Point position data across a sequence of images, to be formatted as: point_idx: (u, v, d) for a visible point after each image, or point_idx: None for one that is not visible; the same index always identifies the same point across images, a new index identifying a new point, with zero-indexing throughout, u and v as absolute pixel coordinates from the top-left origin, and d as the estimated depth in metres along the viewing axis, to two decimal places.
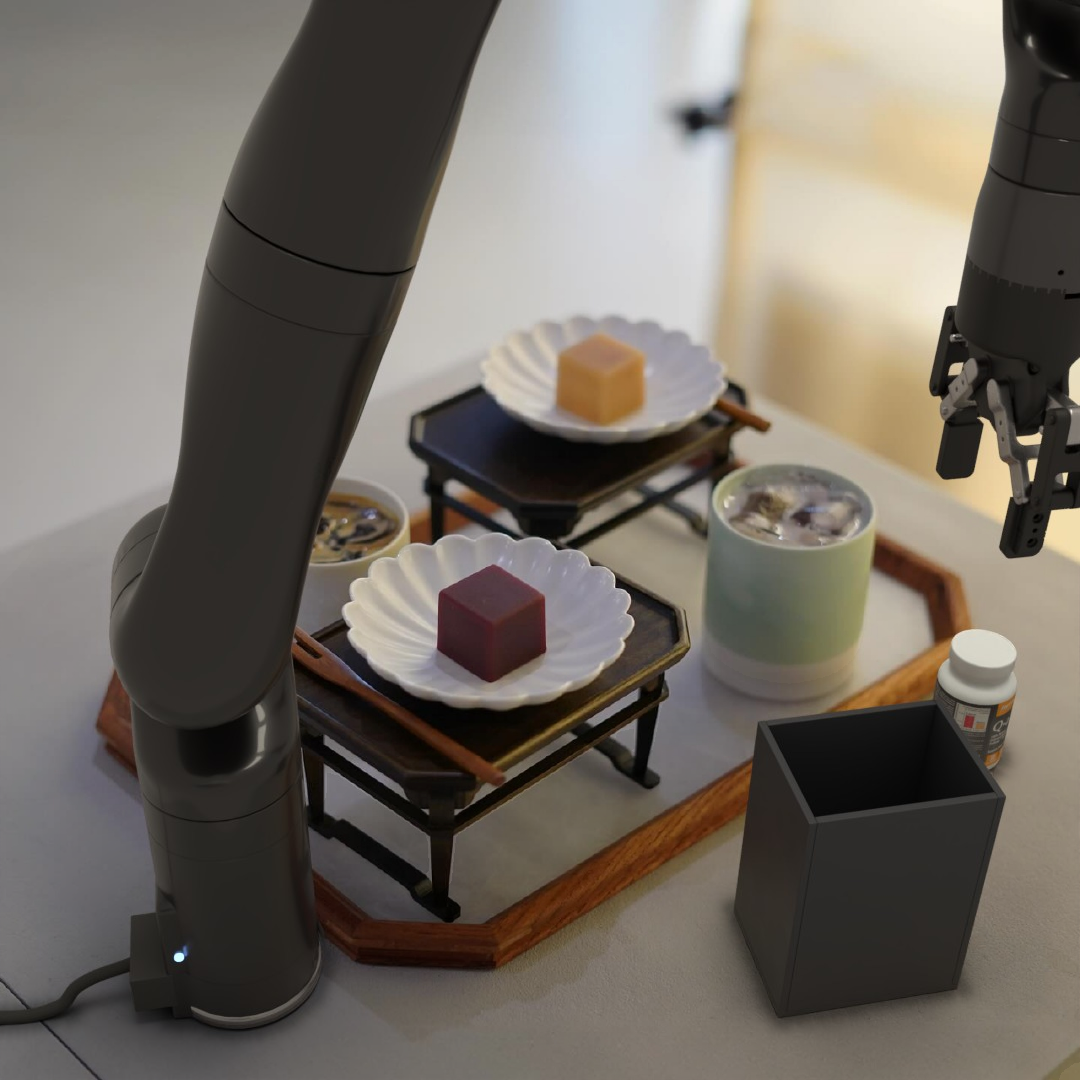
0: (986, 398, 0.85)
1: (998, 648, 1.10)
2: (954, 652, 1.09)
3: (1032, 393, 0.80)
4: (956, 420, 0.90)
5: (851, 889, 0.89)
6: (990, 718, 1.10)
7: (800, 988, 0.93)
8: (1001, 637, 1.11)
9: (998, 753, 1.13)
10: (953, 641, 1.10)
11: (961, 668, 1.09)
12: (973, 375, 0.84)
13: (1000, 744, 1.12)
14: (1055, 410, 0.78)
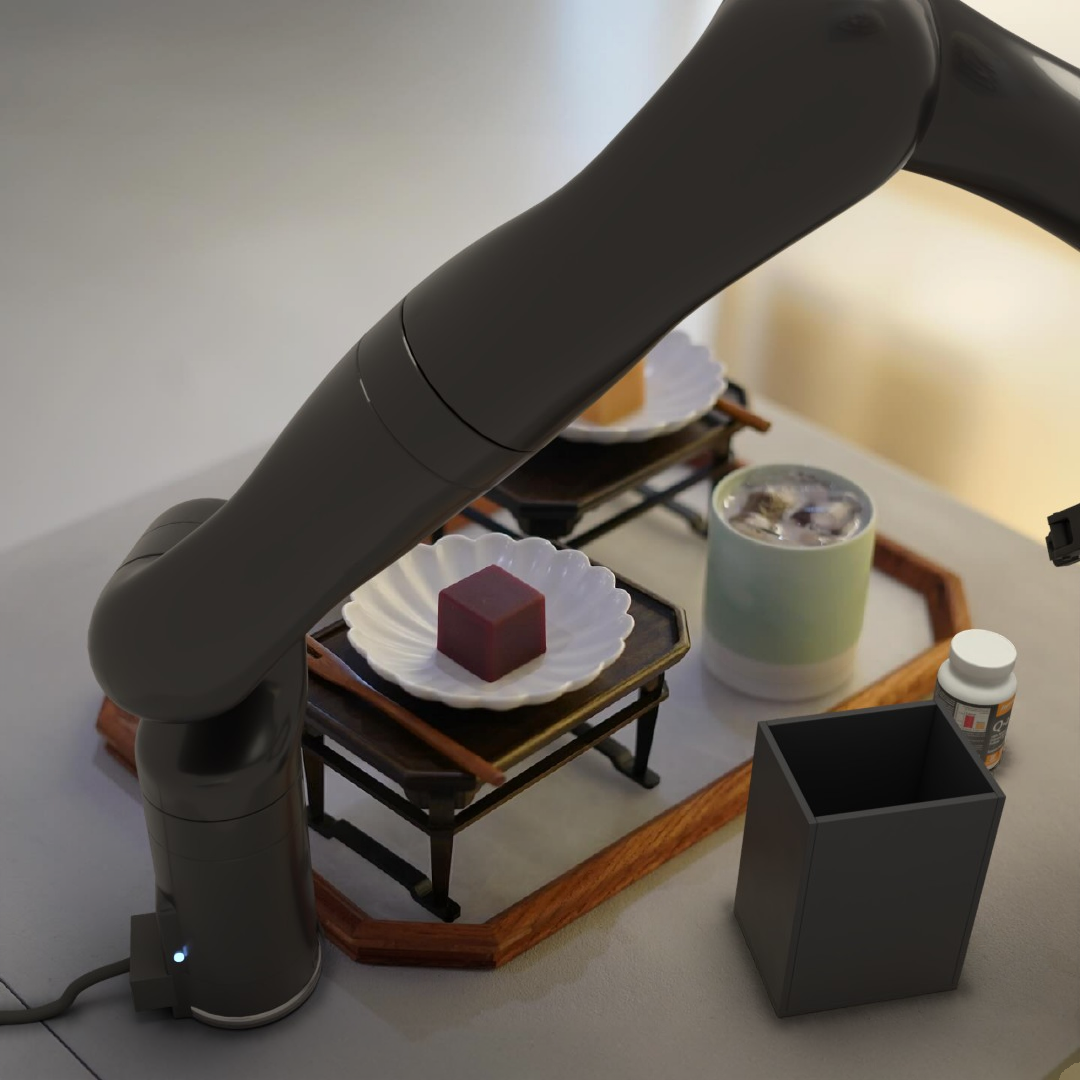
0: None
1: (998, 648, 1.10)
2: (954, 652, 1.09)
3: None
4: None
5: (851, 889, 0.89)
6: (990, 718, 1.10)
7: (800, 988, 0.93)
8: (1001, 637, 1.11)
9: (998, 753, 1.13)
10: (953, 641, 1.10)
11: (961, 668, 1.09)
12: None
13: (1000, 744, 1.12)
14: None
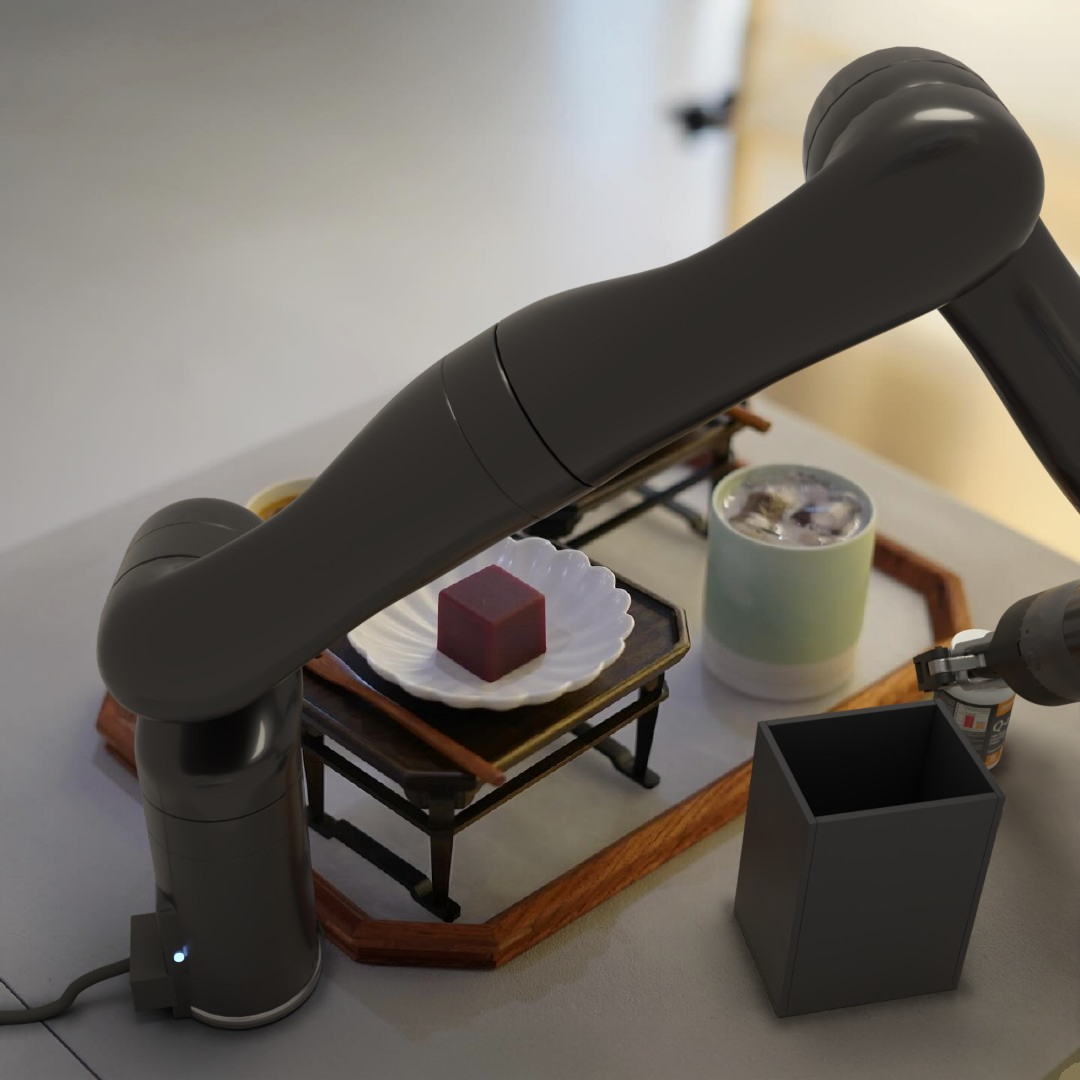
0: None
1: None
2: None
3: (976, 645, 1.03)
4: None
5: (851, 889, 0.89)
6: (990, 718, 1.10)
7: (800, 988, 0.93)
8: None
9: (998, 753, 1.13)
10: (953, 641, 1.10)
11: None
12: None
13: (1000, 744, 1.12)
14: (940, 648, 1.02)
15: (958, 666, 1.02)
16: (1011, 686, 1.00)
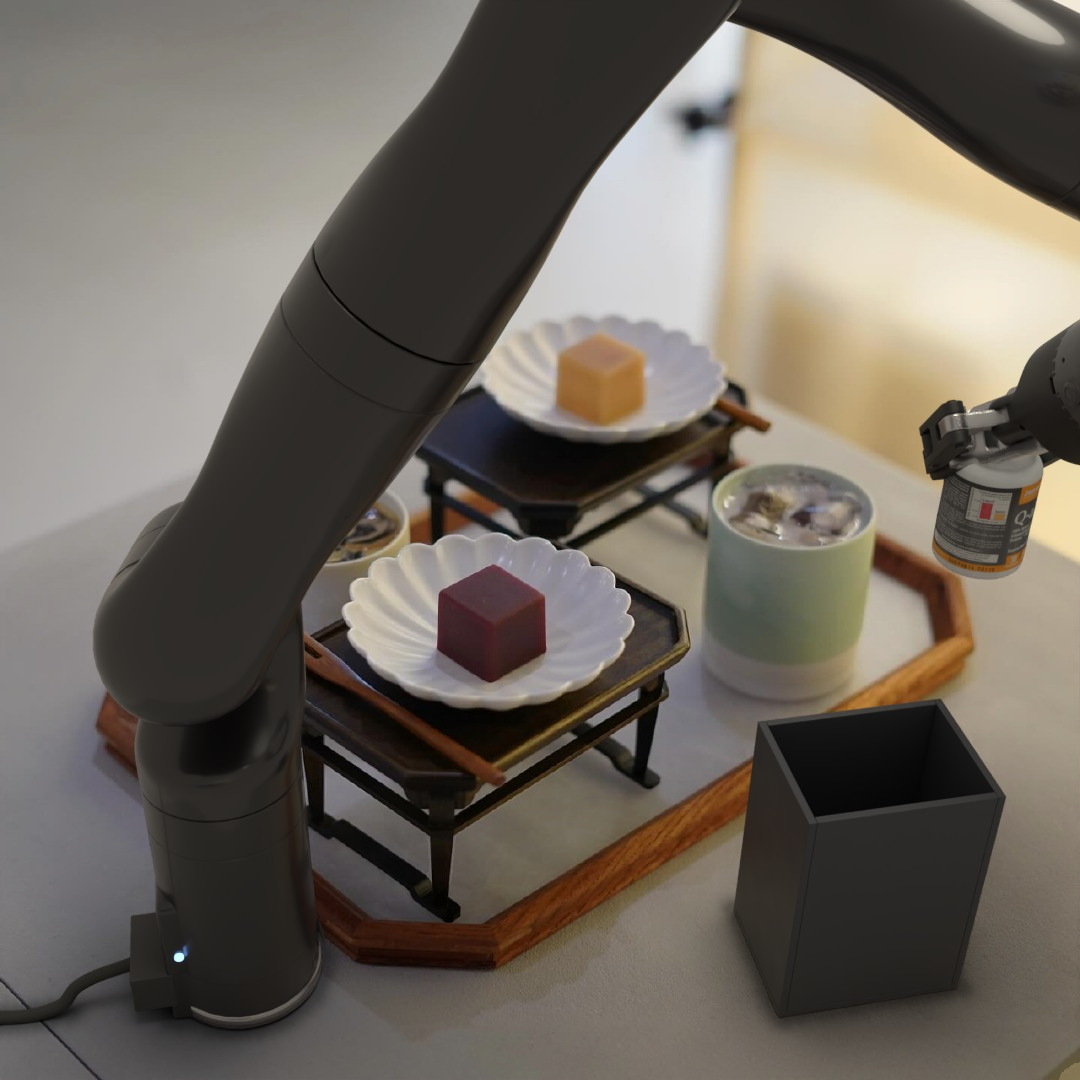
0: None
1: None
2: None
3: (997, 399, 0.84)
4: None
5: (851, 889, 0.89)
6: (1011, 507, 0.91)
7: (800, 988, 0.93)
8: None
9: (1020, 555, 0.94)
10: None
11: None
12: None
13: (1022, 543, 0.94)
14: (953, 402, 0.84)
15: (975, 423, 0.84)
16: (1041, 440, 0.81)
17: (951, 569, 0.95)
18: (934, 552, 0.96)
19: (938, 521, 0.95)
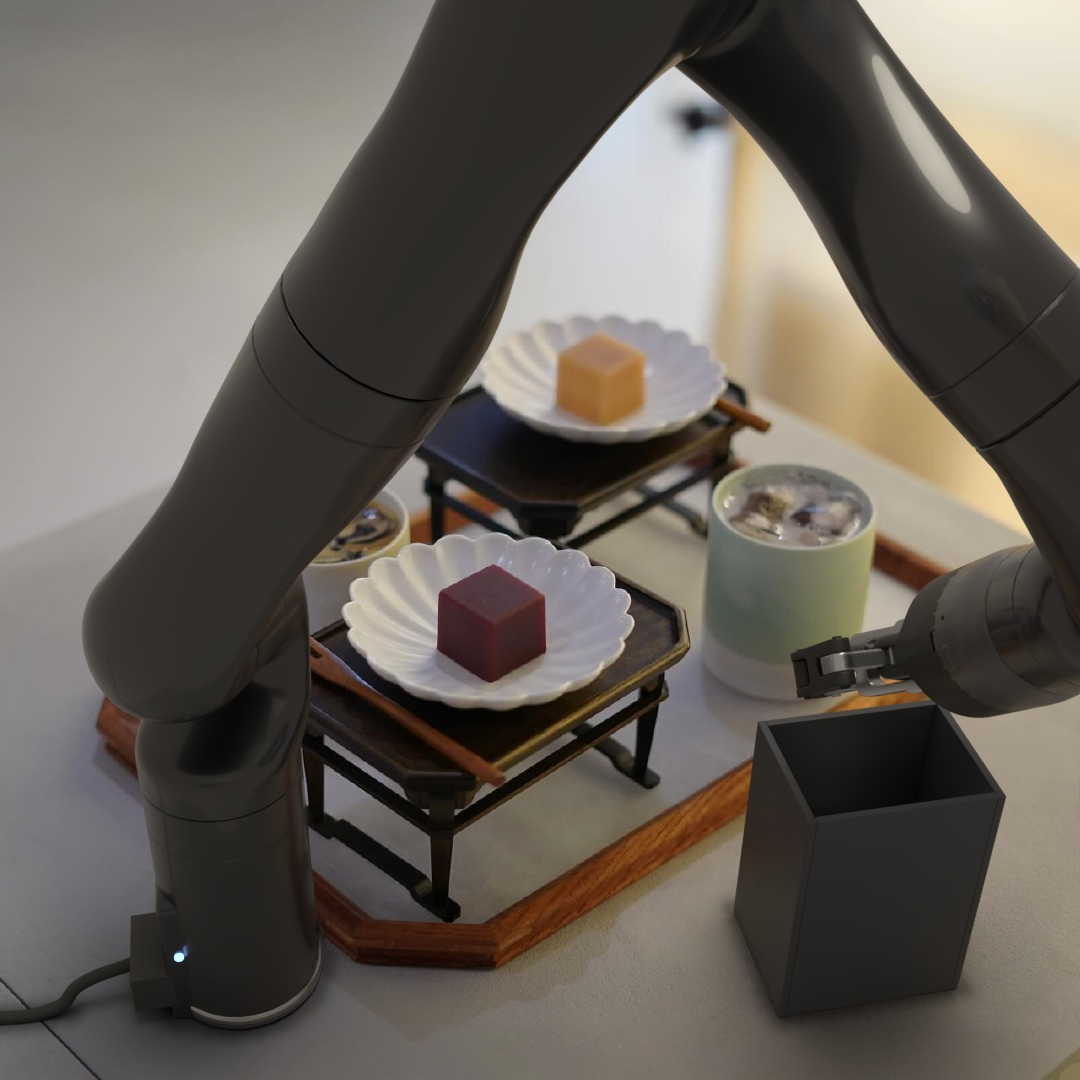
0: None
1: None
2: None
3: (885, 636, 0.78)
4: None
5: (851, 889, 0.89)
6: None
7: (800, 988, 0.93)
8: None
9: None
10: None
11: None
12: None
13: None
14: (840, 639, 0.77)
15: (863, 663, 0.77)
16: (925, 691, 0.75)
17: None
18: None
19: None
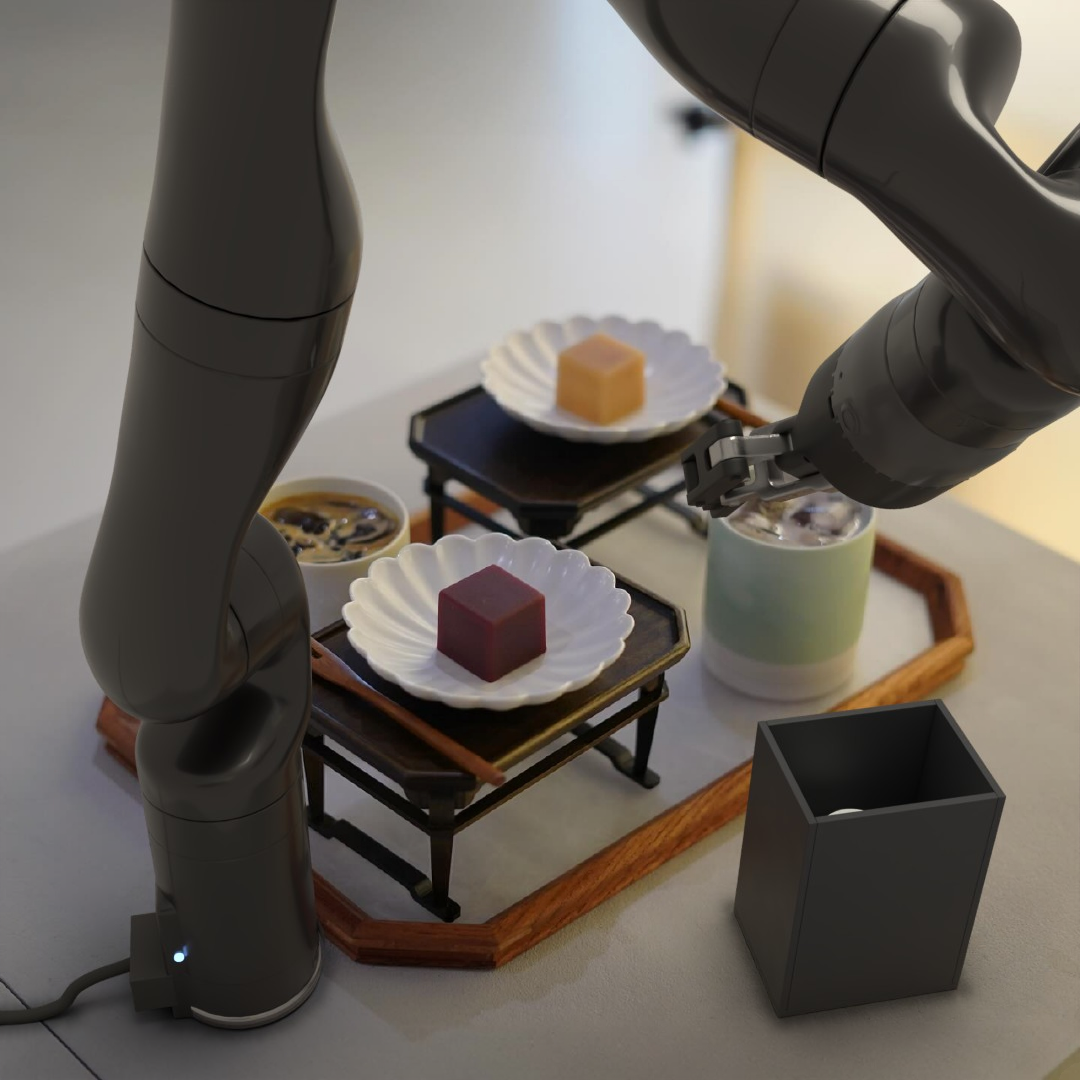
0: None
1: None
2: None
3: (783, 421, 0.66)
4: None
5: (851, 889, 0.89)
6: None
7: (800, 988, 0.93)
8: None
9: None
10: None
11: None
12: None
13: None
14: (730, 421, 0.65)
15: (757, 450, 0.65)
16: (827, 476, 0.63)
17: None
18: None
19: None
